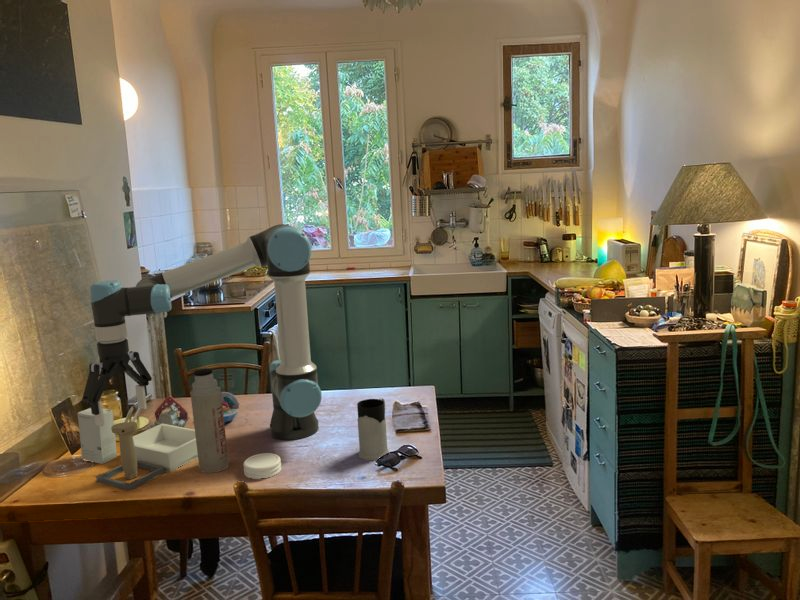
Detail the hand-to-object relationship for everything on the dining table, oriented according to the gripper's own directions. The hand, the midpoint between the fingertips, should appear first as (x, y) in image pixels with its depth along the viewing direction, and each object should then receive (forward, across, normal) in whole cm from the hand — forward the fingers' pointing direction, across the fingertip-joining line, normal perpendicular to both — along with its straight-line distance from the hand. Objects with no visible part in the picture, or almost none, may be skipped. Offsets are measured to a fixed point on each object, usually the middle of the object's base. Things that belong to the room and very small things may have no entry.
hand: (122, 416), depth 183 cm
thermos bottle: (+18, -14, +17) cm, 28 cm away
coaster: (+18, -17, +32) cm, 41 cm away
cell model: (+18, -42, -5) cm, 46 cm away
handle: (+18, 0, 0) cm, 18 cm away
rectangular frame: (+17, 0, 0) cm, 17 cm away
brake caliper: (+18, -31, -17) cm, 39 cm away
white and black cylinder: (+17, -41, +54) cm, 70 cm away
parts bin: (+17, -15, -2) cm, 23 cm away
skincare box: (+18, -5, -19) cm, 26 cm away
